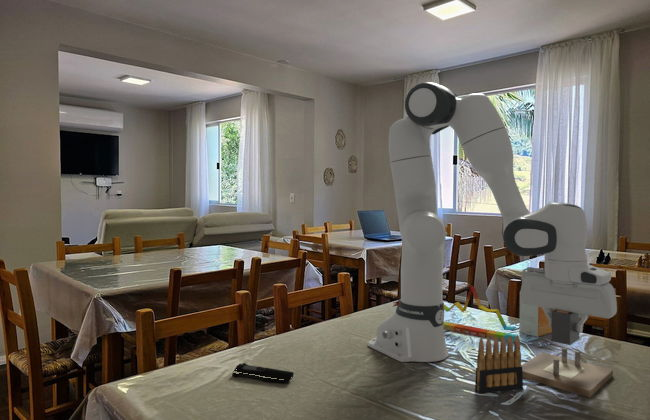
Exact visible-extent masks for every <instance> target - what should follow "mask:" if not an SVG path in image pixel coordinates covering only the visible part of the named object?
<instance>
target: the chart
mask: <svg viewBox="0 0 650 420" xmlns="http://www.w3.org/2000/svg"><path fill="white" fill-rule="evenodd" d="M472 295H473V298H474V301H475V303H476V305H477V307H478V309H479V310H481V311H483V312H486V313H495V314H496V316H497V319H498V321H499V323H500V324H501V327H502V328H503V330H504V331H514V330H515V329H516V328H517V326H507V324H506V322H505V320H504V317H503V315H502V314H501V312H500V310H499V309H497V308H496V309H495V308H494V309H492V308H491V309H490V308H488V307H487V306H484V305H482V303H481V300H480V298H479V295H478V293H477V291H476V288H475V286H474V285H472V286H470V287H469V290H468V293H467V297H466V299H465V302H464V306H463V305H462V304H461V303H460V302H459V301H456V302H454V303H453V304H452V305H451V306H450V307H448V306H447V305H446V304H444V312H446V313H448V312H449V311H451V310H453V308H454V307H455V306H456V307H457V309H459V311H460V312H461V313H464V312H467V308H468V304H469V301H470V298H471V296H472ZM443 328H444V330H446V331H451V332H456V333H460V334H466V335H469V336H470V335H471V336H476V337H480V338H486V339H488V337H489V338H490V340H494V339H495V337H497V339H498V341H500V342H501V339H502V336H504V338H505V342H506V343H508V338H509V336H510V335H511V337H512V341H513V343H515V338H516V336H517V334H514V333H509V332H502V331H497V330H492V329H487V328H481V327H475V326H470V325H465V324H460V323H454V322H448V321H444V322H443Z"/></svg>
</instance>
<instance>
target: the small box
mask: <svg viewBox="0 0 650 420" xmlns="http://www.w3.org/2000/svg"><path fill="white" fill-rule="evenodd" d="M520 295H521V290H520V291H519V296H520ZM551 313H552V312H551ZM518 325H519V329H518V330H519V331H518V332H519V333H522V334H525V335H529V336H532V337H536V338H539V337H542V336H544V335H548V334H552V327H549V319H548V318H547V316H546V315H545V313H544V307H538V306H532V305H526V304H523V303H522V301H521V299H520V298H519V323H518Z"/></svg>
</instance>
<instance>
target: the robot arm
mask: <svg viewBox="0 0 650 420" xmlns="http://www.w3.org/2000/svg"><path fill="white" fill-rule="evenodd" d="M404 110H405V113H406V115H407V116H406V117H403V118H400V119H398V120H396V121H395V122H394V123H391V125H390V126H389V131H388V156H389V164H390V170H391V176H392V183H393V192H394V196H395V206H396V213H397V219H398V220H397V221H398V226H399V227H398V228H399V233H400V237H401V263H400V299H398V300H397V301H394V302H393V305H392V307H396V308H395V312H393V313H392V314H391V315H389V316H388V317H387V318H385V319H384V320H382V321H381V322H380V323H379V324H378V326H377V329H376V335H375V337H373V338H371V339H370V340H369V341H368V342H367V345H368V347H370V348H371V349H374V350H376V351H377V352H380V353H381V354H384V355H386V356H388V357H390V358H392V359H394V360H396V361H398V362H402V363H408V362H418V363H431V362H434V363H435V362H438V361H443V360H445V359H446V358H448V357H449V355H450V354H449V351H448V346H447V343H446V336H445V331H444V330H445V329H444V328H443V322H445V310H444V305H445V303H444V301H443V272H444V262H445V261H444V260H445V250H446V235H447V233H446V232H447V231H446V226H445V224H444V221H443V219H441V218H440V217H439V213H438V204H437V203H438V202H437V185H436V177H435V170H434V164H433V158H432V152H431V151H432V150H431V144H430V140H431V136H432V135H436V134H438V133H440V132H441V131H443V130H445V129H447V128H448V127H450V128H451V129H452V130H454V132H455V135H456V136H457V138H458V141H459V143H460V146H461V149H462V150H463V154H464V155H465V157H466V159H467V160H468V162H469V164H470V165H471V167H472V168H473V169H474V171H475V172H476V173H477V174H478V175H479V176H480V177H481V178H482V179H483V180H484V182H485V183H486V184H487V185H488V187H489V189H490V191H491V193H492V195H493V197H494V199H495V202H496V205H497V208H498V210H499V212H500V214H501V218H502V226H501V227H502V229H501V230H502V231H501V235H502V238H503V239H502V240H503V243H504V246H505V247H506V249H507V250H508V251H509V252H510V253H512V254H513V255H515V256H519V257H523V258H524V257H525V258H527V257H534V256H540V255H544V268H543V267H542V268H540V267H532V266H530V267H529V266H528V267H526V268H524V269H522V270H521V272H520V274H521V275H520V280H521V287H520V291H521V295H520V294H519V300H520V299H521V301H522V303H523V304H526V305H532V306H538V307H544V313H545V315H546V316H547V318H548V319H549V327H552V313H551V312H552V311H554V310H561V311H567V312H573V313H579V323H575V324H573V327H574V329H573V331H574V332H579V334H581V333H583V330H584V324H585V323H586V321H587V320H588V318H589V316H590V317H598V318H602V319H611V318H613V317H614V316H615V315H617V311H618V306H617V305H618V303H617V295H616V291H615V288H614V286H613V285H612V284H611V283H610V281H611V279H612V274H611V272H610V271H607V270H604V269H602V268H600V267H597V266H594V265H591V264H589V263H588V256H587V253H586V246H587V243H588V224H587V223H588V222H587V216H586V212H585V211H584V209H582V207H580V206H579V205H577V204H572V203H567V202H566V203H565V202H558V201H551V202H548V203H547V204H546V205H544V206H542V207H540V208H538V209H537V210H535V211H532V212H530V211H529V210H528V208H527V206H526V204H525V201H524V199H523V197H522V194H521V192H520V189H519V187H518V184H517V181H516V178H515V173H514V152H513V151H514V149H513V145H512V143H511V139H510V135H509V133H508V130H507V128H506V125H505V122H504V121H503V119H502V117H501V115H500V114H499V111H498V110H497V108H496V106H495V105H494V104H493V102H492V100H490V98H489V97H488V95H486V94H484V93H480V92H479V93H478V92H477V93H470V94H468V95H465V96H462V97H458V95H457V94H456V93H455V92H454V91H452V90H451V89H450V88H448V87H447V86H446V85H445V86H444V85H442V84H438V83H436V82H431V81H426V82H425V81H424V82H421V83H418V84H416V85H414V86H413V87H412V88H411V89H410V90H409V91H408V92H407V94H406V97H405V100H404Z"/></svg>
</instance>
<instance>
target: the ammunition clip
mask: <svg viewBox="0 0 650 420" xmlns="http://www.w3.org/2000/svg"><path fill="white" fill-rule="evenodd" d="M492 347H493V348H492ZM476 362H477V365H476V367H475V384H474V385H475V386H474V391H476V393H478V394H479V395H482V394H490V393H499V392H507V391H508V392H509V391H519V390H523V389H524V378H523V371H522V366H521V365H522V351H521V342H520V337H519V335H518V334H516V338H515V342H513V341H512V337H511V335H510V336H509V338H508V342H505V338H504V336H502V339H501V341H500V345H499V340H498V339H497V337H495V339H493V344H492V341H491V339H490V338H489V337H488V338H486V343H485V344H484V339H483V337H480V339H479V342H478V351H477V361H476Z"/></svg>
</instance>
